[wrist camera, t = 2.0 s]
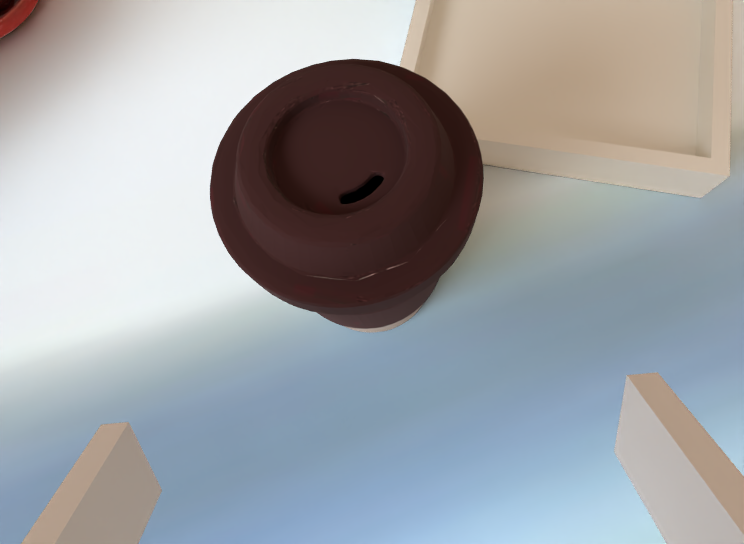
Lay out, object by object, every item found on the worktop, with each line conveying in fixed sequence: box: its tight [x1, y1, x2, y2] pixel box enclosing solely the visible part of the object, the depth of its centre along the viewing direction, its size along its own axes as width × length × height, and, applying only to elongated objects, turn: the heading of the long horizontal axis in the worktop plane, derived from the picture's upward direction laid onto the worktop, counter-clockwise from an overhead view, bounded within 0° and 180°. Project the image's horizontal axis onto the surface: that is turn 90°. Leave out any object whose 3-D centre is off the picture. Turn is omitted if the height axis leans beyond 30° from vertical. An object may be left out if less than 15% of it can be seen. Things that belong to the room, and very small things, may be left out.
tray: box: [400, 0, 733, 198], centre depth 32 cm, size 20×16×3 cm
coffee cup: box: [210, 59, 484, 332], centre depth 22 cm, size 10×10×15 cm
